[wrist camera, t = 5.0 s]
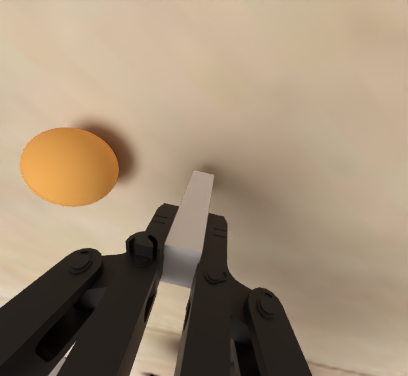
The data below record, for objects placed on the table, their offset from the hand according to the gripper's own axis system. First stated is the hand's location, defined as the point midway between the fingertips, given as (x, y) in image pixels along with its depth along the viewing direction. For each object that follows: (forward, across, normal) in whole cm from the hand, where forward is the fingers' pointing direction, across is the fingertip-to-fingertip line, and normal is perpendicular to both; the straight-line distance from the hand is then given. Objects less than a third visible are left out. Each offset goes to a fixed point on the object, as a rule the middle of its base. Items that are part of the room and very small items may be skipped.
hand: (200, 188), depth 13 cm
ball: (-1, +9, 0) cm, 9 cm away
